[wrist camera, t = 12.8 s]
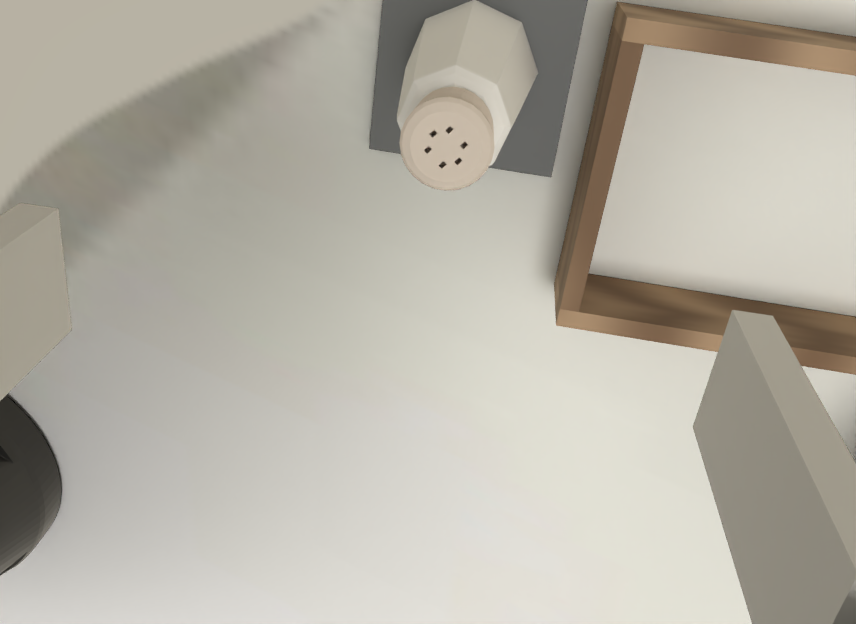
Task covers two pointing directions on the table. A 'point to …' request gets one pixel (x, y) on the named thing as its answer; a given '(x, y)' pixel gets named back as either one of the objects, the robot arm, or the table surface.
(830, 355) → the tray
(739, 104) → the table surface
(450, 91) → the salt shaker
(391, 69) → the mat
